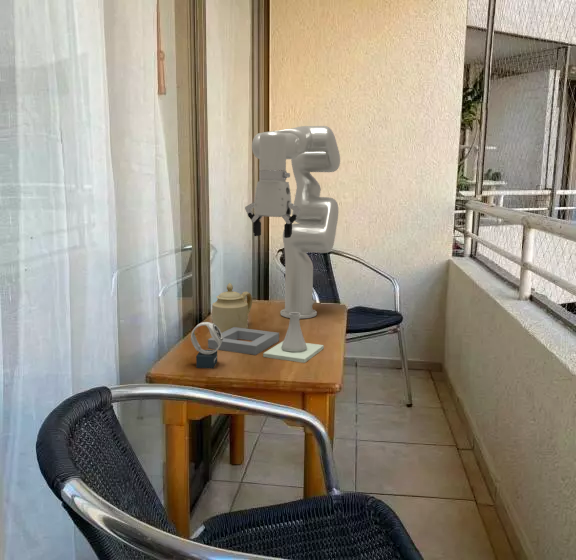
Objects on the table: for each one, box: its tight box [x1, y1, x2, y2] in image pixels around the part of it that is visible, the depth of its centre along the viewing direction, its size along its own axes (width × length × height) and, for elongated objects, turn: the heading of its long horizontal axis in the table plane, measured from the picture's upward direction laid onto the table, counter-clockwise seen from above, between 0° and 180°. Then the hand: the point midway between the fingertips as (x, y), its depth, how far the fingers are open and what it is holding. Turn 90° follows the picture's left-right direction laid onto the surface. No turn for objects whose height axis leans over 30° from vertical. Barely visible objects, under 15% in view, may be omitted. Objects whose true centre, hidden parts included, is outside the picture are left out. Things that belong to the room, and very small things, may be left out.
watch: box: [190, 321, 223, 369], centre depth 150 cm, size 6×8×11 cm
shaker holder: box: [207, 327, 280, 356], centre depth 169 cm, size 15×15×2 cm
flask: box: [281, 312, 307, 352], centre depth 161 cm, size 7×7×10 cm
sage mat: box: [262, 340, 325, 364], centre depth 162 cm, size 14×12×1 cm
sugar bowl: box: [211, 282, 253, 333], centre depth 185 cm, size 15×11×15 cm
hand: (272, 236), depth 171 cm, fingers open, 9 cm apart
